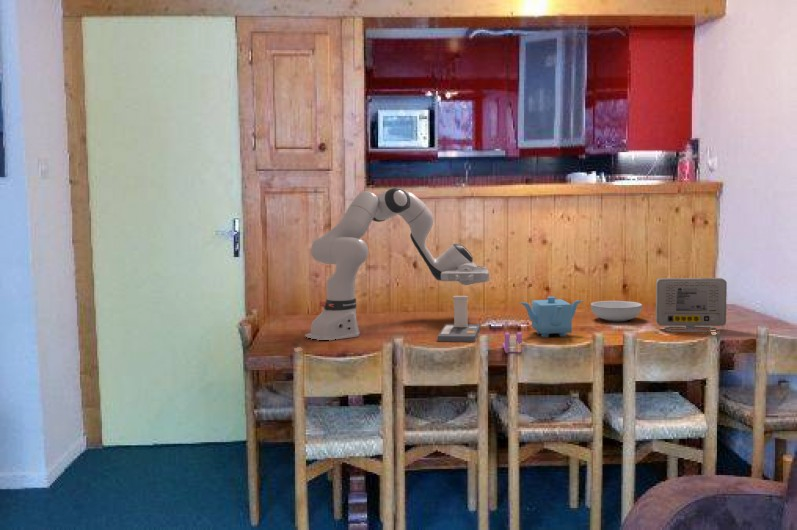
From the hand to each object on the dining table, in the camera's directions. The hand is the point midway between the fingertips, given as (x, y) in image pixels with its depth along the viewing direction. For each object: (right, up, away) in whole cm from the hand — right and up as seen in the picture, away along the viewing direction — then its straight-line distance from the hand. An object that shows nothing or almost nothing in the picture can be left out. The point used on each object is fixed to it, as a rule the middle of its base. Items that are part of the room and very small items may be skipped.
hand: (463, 278), depth 338 cm
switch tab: (-2, -19, -11) cm, 22 cm away
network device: (+87, -20, -17) cm, 91 cm away
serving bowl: (+65, -18, +9) cm, 68 cm away
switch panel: (-3, -22, -16) cm, 27 cm away
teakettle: (+33, -22, -21) cm, 44 cm away
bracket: (+14, -25, -44) cm, 53 cm away
